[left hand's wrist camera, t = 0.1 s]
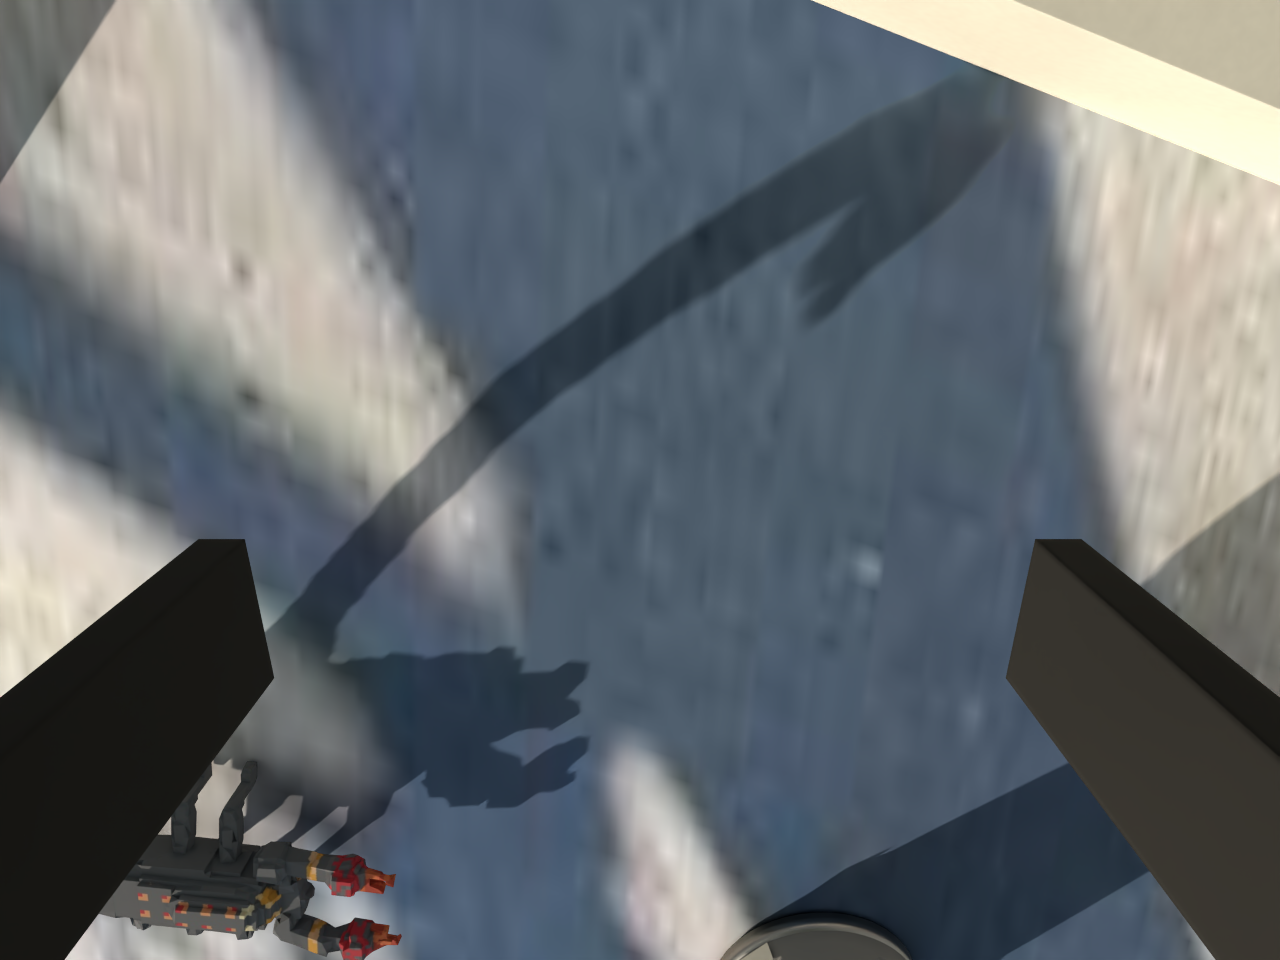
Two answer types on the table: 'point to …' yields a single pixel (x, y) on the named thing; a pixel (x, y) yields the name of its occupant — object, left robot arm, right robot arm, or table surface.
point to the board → (1123, 61)
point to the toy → (245, 884)
